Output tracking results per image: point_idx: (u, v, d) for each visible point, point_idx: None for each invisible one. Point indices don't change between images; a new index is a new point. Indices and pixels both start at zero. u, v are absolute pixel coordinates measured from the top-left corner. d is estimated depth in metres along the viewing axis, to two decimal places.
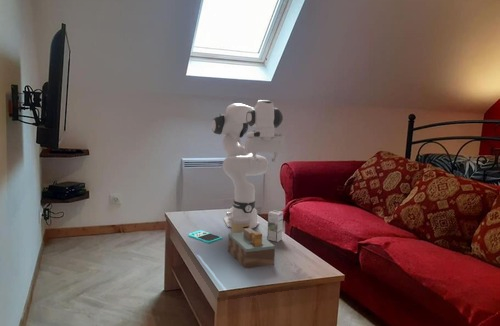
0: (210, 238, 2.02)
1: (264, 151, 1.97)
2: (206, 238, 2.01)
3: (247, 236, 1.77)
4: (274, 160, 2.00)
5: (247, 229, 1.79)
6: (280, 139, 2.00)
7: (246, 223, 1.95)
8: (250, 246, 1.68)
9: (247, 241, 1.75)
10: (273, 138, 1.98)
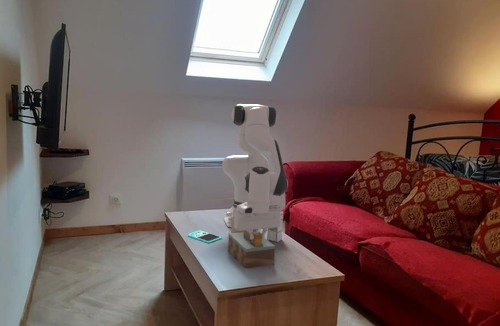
0: (210, 238, 2.01)
1: (257, 227, 1.68)
2: (206, 238, 2.01)
3: (247, 236, 1.77)
4: (262, 237, 1.71)
5: None
6: (276, 213, 1.71)
7: None
8: (250, 246, 1.68)
9: (247, 241, 1.75)
10: (268, 212, 1.69)
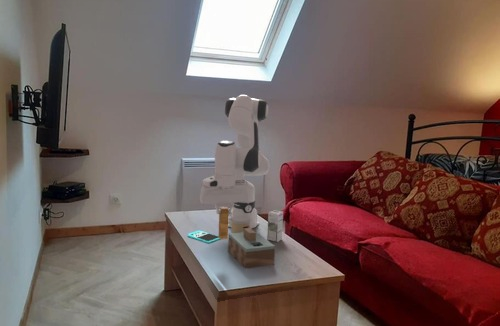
0: (210, 238, 2.01)
1: (223, 201, 1.67)
2: (206, 238, 2.01)
3: (247, 236, 1.77)
4: (229, 211, 1.70)
5: (247, 229, 1.79)
6: (243, 187, 1.70)
7: (246, 223, 1.95)
8: (250, 246, 1.68)
9: (247, 241, 1.75)
10: (234, 186, 1.68)
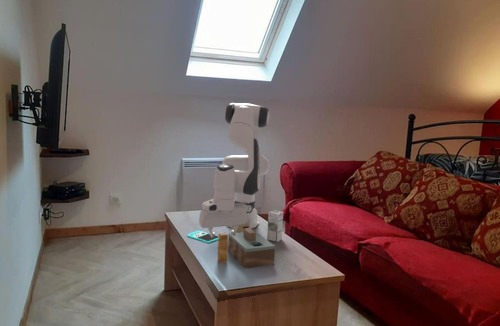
0: (209, 238, 2.01)
1: (222, 224, 1.68)
2: (205, 238, 2.01)
3: (247, 236, 1.77)
4: (233, 233, 1.72)
5: (247, 229, 1.79)
6: (242, 210, 1.71)
7: (246, 223, 1.95)
8: (250, 246, 1.68)
9: (247, 241, 1.75)
10: (233, 209, 1.69)
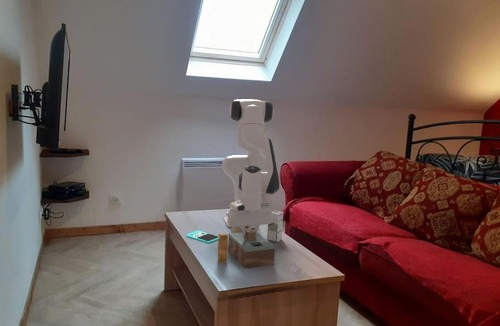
0: (209, 238, 2.01)
1: (249, 224, 1.76)
2: (205, 238, 2.01)
3: (247, 236, 1.77)
4: None
5: (247, 229, 1.79)
6: (268, 211, 1.78)
7: None
8: (250, 246, 1.68)
9: (247, 241, 1.75)
10: (259, 210, 1.77)
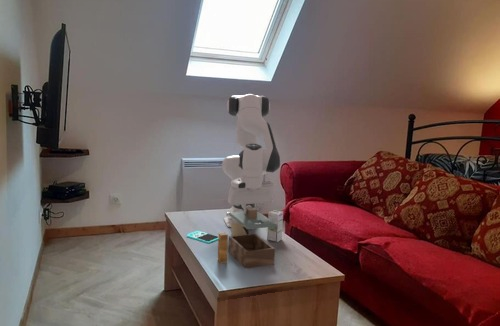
0: (209, 238, 2.01)
1: (250, 202, 1.74)
2: (205, 238, 2.01)
3: (248, 215, 1.76)
4: None
5: (248, 207, 1.78)
6: (269, 189, 1.77)
7: None
8: (251, 224, 1.67)
9: (247, 219, 1.73)
10: (261, 188, 1.75)
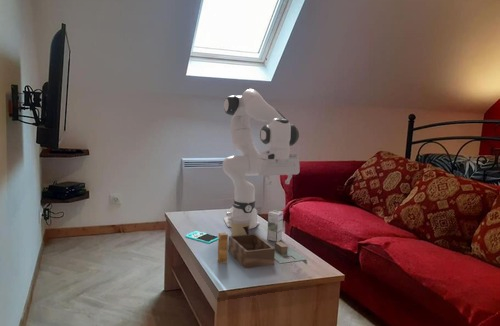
0: (209, 238, 2.01)
1: (278, 173, 1.84)
2: (205, 239, 2.01)
3: (278, 250, 1.85)
4: (288, 182, 1.88)
5: (278, 243, 1.87)
6: (296, 161, 1.87)
7: (246, 223, 1.95)
8: (283, 260, 1.76)
9: (279, 254, 1.82)
10: (288, 160, 1.85)
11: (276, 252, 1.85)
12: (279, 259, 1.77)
